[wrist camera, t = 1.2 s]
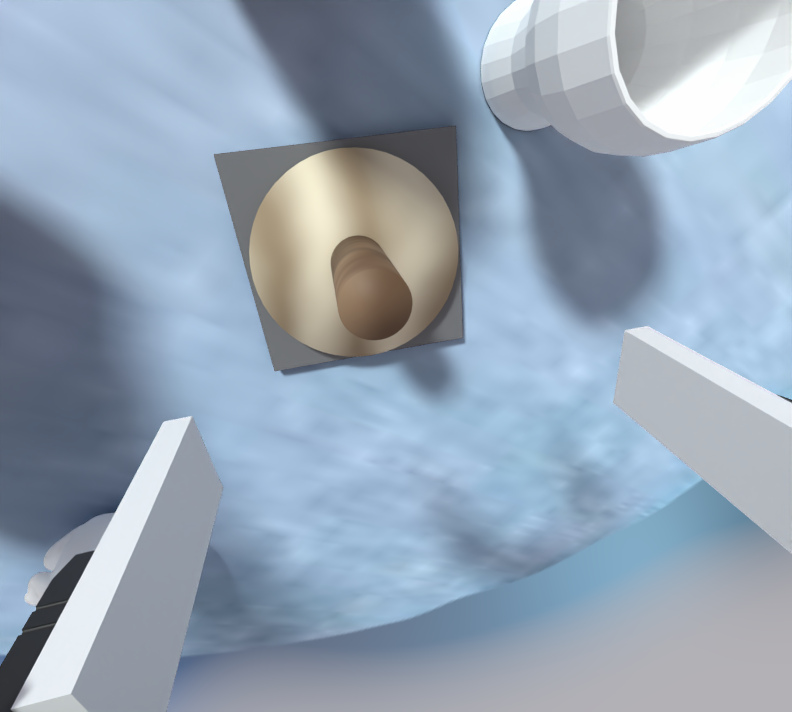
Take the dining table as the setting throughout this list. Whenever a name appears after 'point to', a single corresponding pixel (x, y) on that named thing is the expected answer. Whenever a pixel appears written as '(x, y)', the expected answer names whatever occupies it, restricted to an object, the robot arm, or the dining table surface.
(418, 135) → the mat
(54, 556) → the figurine
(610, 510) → the dining table surface
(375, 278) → the lid
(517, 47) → the cup
